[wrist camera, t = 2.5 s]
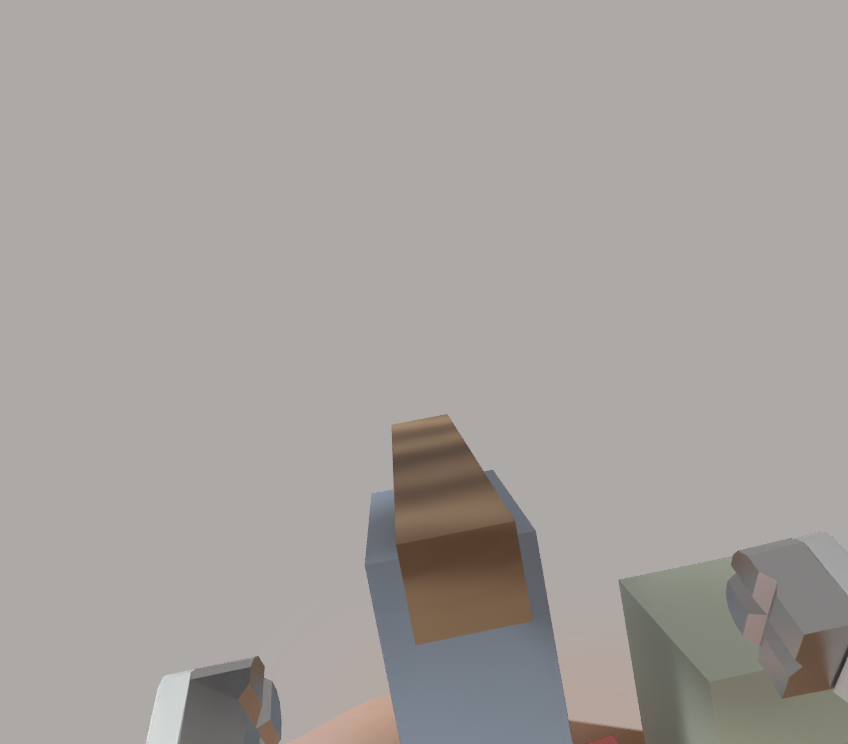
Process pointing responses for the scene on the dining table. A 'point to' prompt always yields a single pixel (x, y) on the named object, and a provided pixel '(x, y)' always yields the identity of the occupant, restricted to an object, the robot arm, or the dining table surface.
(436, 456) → the walnut bar
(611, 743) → the red cube
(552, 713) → the tower
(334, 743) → the dining table surface
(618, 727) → the dining table surface
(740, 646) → the pale green tall block
